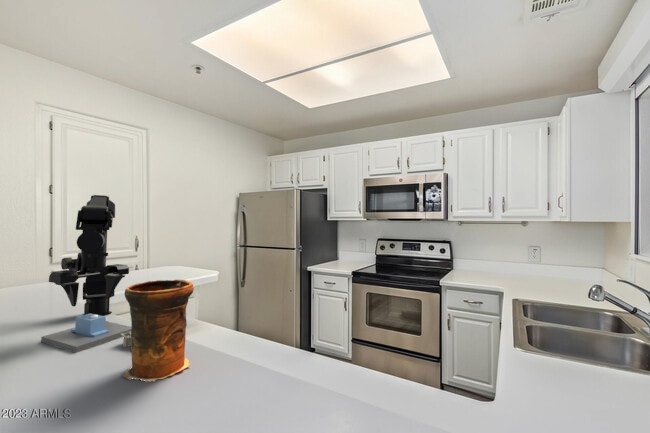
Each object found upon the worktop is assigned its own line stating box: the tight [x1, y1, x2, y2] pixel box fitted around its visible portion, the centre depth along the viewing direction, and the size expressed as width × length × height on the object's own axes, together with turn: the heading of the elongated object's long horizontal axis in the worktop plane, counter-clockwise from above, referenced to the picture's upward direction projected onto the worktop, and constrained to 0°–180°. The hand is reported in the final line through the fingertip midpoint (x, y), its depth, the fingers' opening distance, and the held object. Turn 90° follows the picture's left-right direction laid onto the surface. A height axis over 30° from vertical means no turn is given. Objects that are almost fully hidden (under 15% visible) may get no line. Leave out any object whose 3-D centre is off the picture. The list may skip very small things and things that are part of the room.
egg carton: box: [121, 331, 131, 348], centre depth 87 cm, size 11×8×4 cm
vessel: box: [122, 279, 195, 383], centre depth 73 cm, size 14×14×20 cm
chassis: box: [40, 320, 132, 353], centre depth 90 cm, size 16×16×2 cm
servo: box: [70, 313, 109, 338], centre depth 90 cm, size 4×11×7 cm, turn 68°
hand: (91, 302), depth 90 cm, fingers open, 9 cm apart
